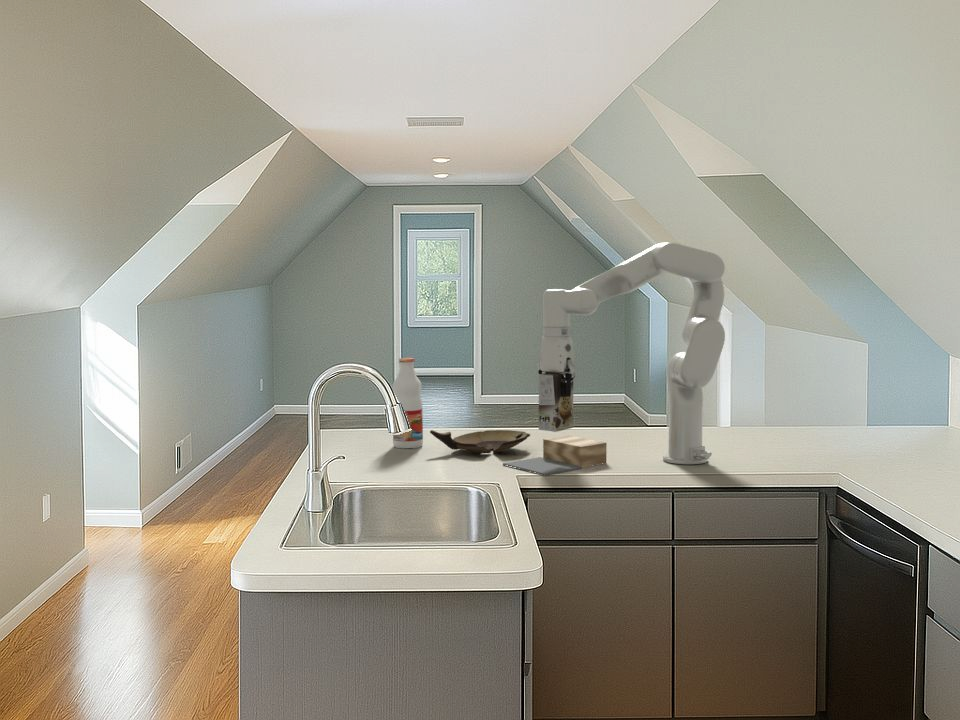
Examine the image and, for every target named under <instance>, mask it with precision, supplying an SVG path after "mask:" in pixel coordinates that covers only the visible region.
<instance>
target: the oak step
mask: <svg viewBox="0 0 960 720" xmlns="http://www.w3.org/2000/svg"><path fill="white" fill-rule="evenodd" d="M542 440H543V441H542V442H543V445H542V446H543V447H542V448H543V449H542V451H543V457H542V458H546V459H550V460H555V461H559V462H564V463H568V464H573V465H577V466H581V467H582V469H583V467H584V468H588V466H589V467H593V466H592V465H595V466H598V465H597V464H600V465H603V464H602V463H606V464H607V445H608V444H607V442H604V441H599V440H593V439H589V438H584V437H579V436H573V435H563V436H561V435H560V436H556V437H555V436H554V437H548V438H543V439H542Z"/></svg>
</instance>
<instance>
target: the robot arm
mask: <svg viewBox="0 0 960 720" xmlns="http://www.w3.org/2000/svg"><path fill="white" fill-rule="evenodd" d="M725 268H726V267H725V262H724V261H723V259H722V257H720V255H718V254H717V253H714V252H710V251H707V250H703V249H698V248H695V247H691V246H687V245H684V244H681V243H677V242H671V241H669V242H668V241H667V242H659V243H657V244H654V245H653V246H652V245H651V247H649V248H647V249H645V250H643V251H642V252H640V253H638V254H636V255H634V256H632V257H630V258H629V259H627V260H625V261H623V262H622V263H619V264H617V265H616V266H613V267H612V268H609V269H608V270H606V271H605V272H602V273H600V274H599V275H596V276H594V277H593V278H590V279H588V280H587V281H585V282H583V283H581V284H579V285H578V286H576V287H574V288H573V289H571V290H567V289H564V288H559V289H558V288H552V289H550V288H549V289H545V291H544V292H543V297H542V300H543V301H542V303H543V304H542V307H543V308H542V318H543V319H542V333H543V334H542V339H541V345H540V356H539V361H538V362H537V363H536V364H535V367H536V369H537V371H538V373H537V374H538V375H539V374H543V373H558V374H561V378H562V381H563V383H561V396H562V397H568V396H571V382H572V381H573V382H574V379H575V377H576V375H577V374H578V371H579V370H578V368H577V366H576V365H575V351H574V344H573V340H572V338H571V336H570V335H571V333H572V331H571V330H570V329H571V326H570V325H571V315H572V314H573V315H579V316H588V315H592V314H594V313H595V312H596V311H597V310H598V307H599V305H600V304H601V303H603V302H605V301H607V300H609V299H611V298H614V297H617V296H620V295H625V294H629V293H631V292H634V291H636V290H638V289H639V288H641V287H643V286H645V285H646V284H648V283H651V282H653V281H654V280H656V279H658V278H659V277H661V276H664V275H665V274H667V273H669V274H672V275H675V276H680V277H682V278H685V279H686V278H687V279H688V280H689V281H690V282H691V285H692V287H693V297H692V301H691V305H690V308H689V312H688V314H687V317H686V319H685V323H684V325H683V328H682V333H681V336H682V340H683V342H684V343H685V345H687V348H686V351H681V352H677V353H675V354H674V355H672V357H671V358H670V360H669V361H668V363H667V371H666V372H667V373H666V374H667V384H668V385H667V386H668V453H665V454H664V455H663V456H662V460H663V461H664V462H666V463H668V464H669V463H670V464H677V465H700V464H705V463H707V462H708V460H710V458H711V456H712V455H713V454H712V452H710V451H706V446H705V445H703V416H704V415H703V414H704V413H703V411H704V410H703V409H704V408H703V407H704V404H703V403H704V402H703V401H704V400H703V399H704V397H703V395H704V394H703V388H704V387H706V386H707V385H708V384H709V383H710V382H711V380H712V379H713V377H714V375H715V371H716V369H717V367H718V364H719V361H720V358H721V354H722V351H723V349H724V345H725V341H726V333H725V328H724V326H723V325H722V323H721V321H719V319H720V315H721V312H722V309H723V304H724V302H725V301H724V300H725V287H724V284H723V281H722V277H723V275H724V274H725V270H726V269H725ZM565 375H567V377H565Z"/></svg>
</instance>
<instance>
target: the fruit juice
mask: <svg viewBox="0 0 960 720" xmlns="http://www.w3.org/2000/svg"><path fill="white" fill-rule="evenodd" d="M398 364H399V371H398V374H397V375H396V376H397V377H396V378H395V380H394V381H393V383H392V390H393V391H394V392H393V391H392V392H393V394H394V393H395V395H396V397H397V399H398V400H399V402H400V403H401V404H402V407H403V409H404V411H405V414H406V416H407V419H408V422H409V425H410V428H411V429H412V430H411V431H409V432H405V433H403V434H400V435H393V434H392V443H393V447H394V448H395V447H396V448H395V449H400V448H413V449H418V448H417V447H419V448H421V446H422V447H423V446H424V445H423V444H424V435H423V434H424V432H423V430H424V427H423V425H424V423H423V421H424V419H423V399H422V397H421V393H422V388H423V387H422V386H423V385H422V382H421V380H420V379H419V378H418V376H417V375H416V371H415V367H414V366H415V358H414V357H402V358H401V357H400V358H399V359H398Z"/></svg>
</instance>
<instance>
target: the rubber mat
mask: <svg viewBox="0 0 960 720" xmlns="http://www.w3.org/2000/svg"><path fill="white" fill-rule="evenodd" d="M503 465H508V466H512V467H516V468H520V469H523V470H522V471H524V470H527V471H526V472H528V471H531V472H530V473H532V472H536V473H539V474H538V475H540V474H542V475H541V476H544V477H545V476H551V475H555V474H556V473H557V474H561V473H567V472H572V471H577V470H582V469H583V468H582V467H581V466H577V465H573V464H568V463H564V462H559V461H555V460H550V459H546V458H543V457H542V456H538V457H532V458H527V459H521V460H515V461H510V462H509V461H508V462H503V463H502V466H503ZM512 467H511V468H512ZM516 468H515V469H516ZM520 469H519V470H520ZM536 473H535V474H536Z"/></svg>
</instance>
